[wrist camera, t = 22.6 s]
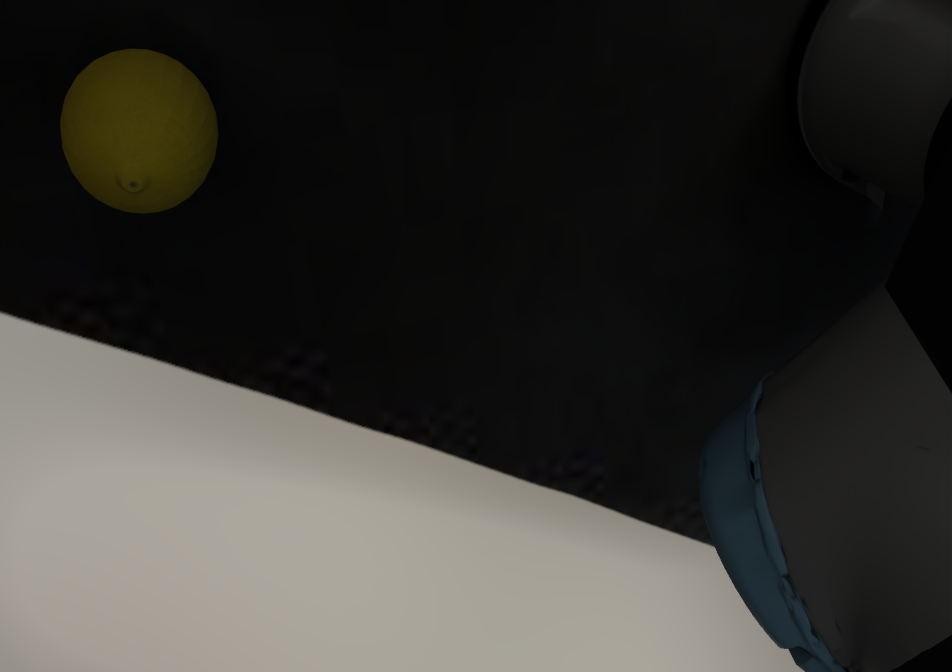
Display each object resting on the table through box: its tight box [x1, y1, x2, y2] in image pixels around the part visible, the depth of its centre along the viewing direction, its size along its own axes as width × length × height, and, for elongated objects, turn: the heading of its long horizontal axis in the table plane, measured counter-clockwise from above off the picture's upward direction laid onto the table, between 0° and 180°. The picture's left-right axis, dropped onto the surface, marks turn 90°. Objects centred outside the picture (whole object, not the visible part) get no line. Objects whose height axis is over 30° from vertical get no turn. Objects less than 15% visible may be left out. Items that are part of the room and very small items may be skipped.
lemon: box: [60, 49, 218, 213], centre depth 33 cm, size 6×6×8 cm
